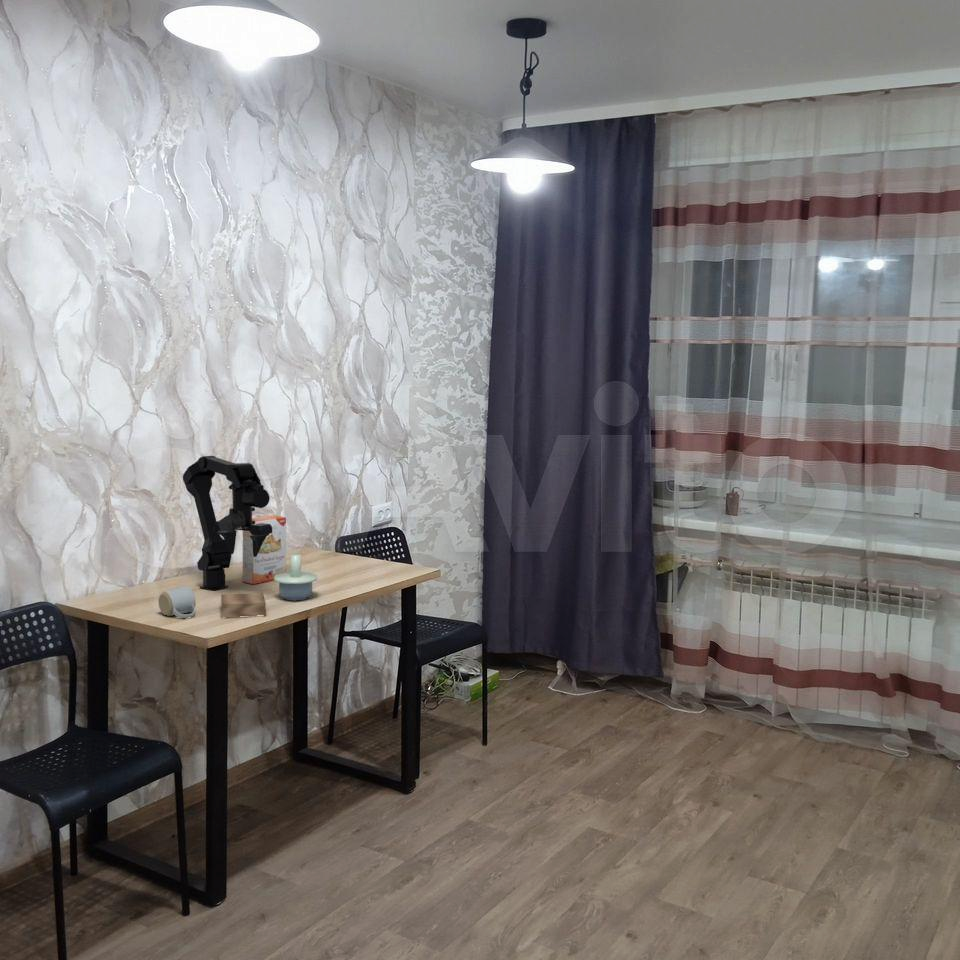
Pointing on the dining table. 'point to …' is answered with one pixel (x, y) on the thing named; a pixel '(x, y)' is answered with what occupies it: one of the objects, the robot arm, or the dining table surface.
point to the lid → (295, 573)
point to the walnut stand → (243, 605)
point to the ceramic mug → (178, 602)
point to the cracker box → (265, 552)
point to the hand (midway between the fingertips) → (243, 555)
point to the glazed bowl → (295, 591)
